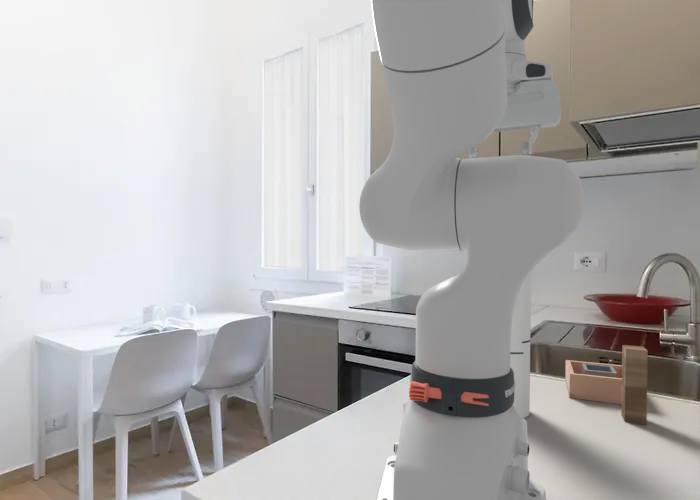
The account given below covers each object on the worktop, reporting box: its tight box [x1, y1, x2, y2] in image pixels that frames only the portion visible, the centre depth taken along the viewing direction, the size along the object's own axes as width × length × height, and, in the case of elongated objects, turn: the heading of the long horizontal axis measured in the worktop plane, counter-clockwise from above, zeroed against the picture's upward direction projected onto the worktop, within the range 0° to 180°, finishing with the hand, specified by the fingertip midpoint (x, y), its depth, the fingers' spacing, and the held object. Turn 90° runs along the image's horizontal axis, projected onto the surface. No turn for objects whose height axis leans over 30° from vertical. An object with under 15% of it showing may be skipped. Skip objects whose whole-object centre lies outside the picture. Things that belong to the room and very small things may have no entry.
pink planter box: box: [564, 359, 622, 405], centre depth 86 cm, size 11×11×5 cm
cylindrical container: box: [510, 272, 532, 419], centre depth 76 cm, size 7×7×25 cm
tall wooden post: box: [620, 344, 648, 426], centre depth 72 cm, size 3×3×12 cm
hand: (499, 155), depth 80 cm, fingers open, 8 cm apart
